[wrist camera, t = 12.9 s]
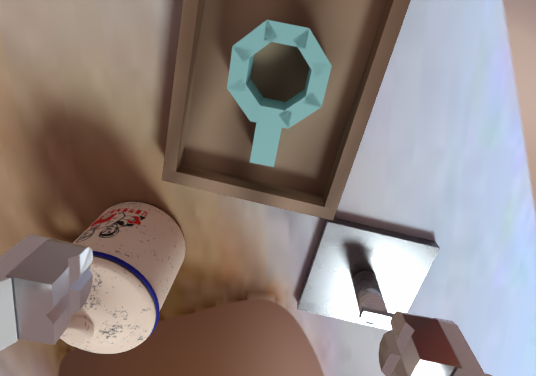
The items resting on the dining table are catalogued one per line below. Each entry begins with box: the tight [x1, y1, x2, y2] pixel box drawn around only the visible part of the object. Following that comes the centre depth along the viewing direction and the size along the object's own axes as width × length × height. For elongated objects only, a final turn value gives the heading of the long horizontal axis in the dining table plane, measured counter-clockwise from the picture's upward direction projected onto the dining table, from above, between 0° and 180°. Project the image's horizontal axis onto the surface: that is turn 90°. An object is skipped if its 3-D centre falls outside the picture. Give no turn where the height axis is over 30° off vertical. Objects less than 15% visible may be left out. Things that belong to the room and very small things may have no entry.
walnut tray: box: [162, 0, 410, 220], centre depth 26 cm, size 14×20×2 cm
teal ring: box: [227, 20, 332, 167], centre depth 26 cm, size 10×6×3 cm
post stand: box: [297, 218, 440, 330], centre depth 32 cm, size 10×10×6 cm
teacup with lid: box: [60, 202, 186, 354], centre depth 29 cm, size 12×9×12 cm
